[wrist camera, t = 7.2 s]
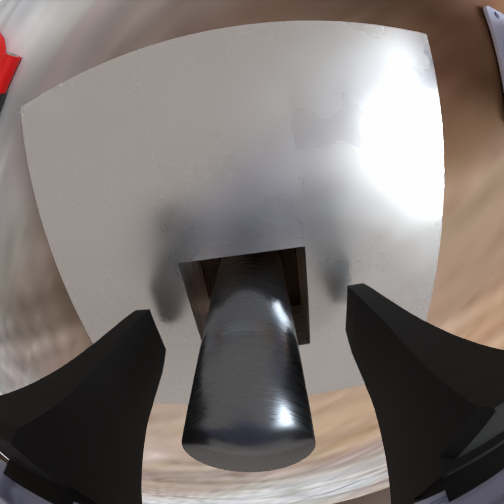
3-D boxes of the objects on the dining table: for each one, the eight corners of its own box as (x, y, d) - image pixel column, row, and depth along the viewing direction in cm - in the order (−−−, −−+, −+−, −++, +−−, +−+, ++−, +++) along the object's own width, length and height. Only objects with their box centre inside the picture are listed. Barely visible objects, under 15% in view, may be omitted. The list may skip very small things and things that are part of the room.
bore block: (392, 49, 9) (426, 33, 6) (392, 338, 15) (411, 371, 13) (59, 107, 10) (20, 107, 7) (141, 366, 16) (128, 401, 14)
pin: (279, 237, 13) (319, 411, 4) (283, 293, 14) (311, 466, 6) (214, 243, 13) (163, 417, 5) (223, 299, 14) (200, 471, 6)
